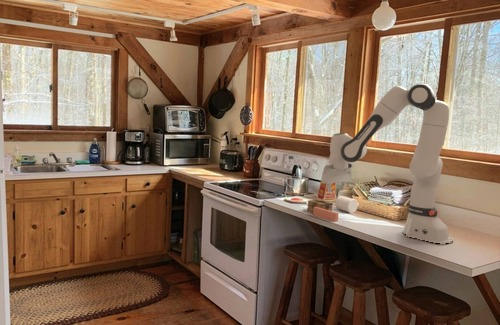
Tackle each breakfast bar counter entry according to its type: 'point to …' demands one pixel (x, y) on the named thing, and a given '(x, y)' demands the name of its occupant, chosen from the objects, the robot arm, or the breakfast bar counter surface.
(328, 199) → the milk carton
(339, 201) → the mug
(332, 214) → the orange rectangular bar
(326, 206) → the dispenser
